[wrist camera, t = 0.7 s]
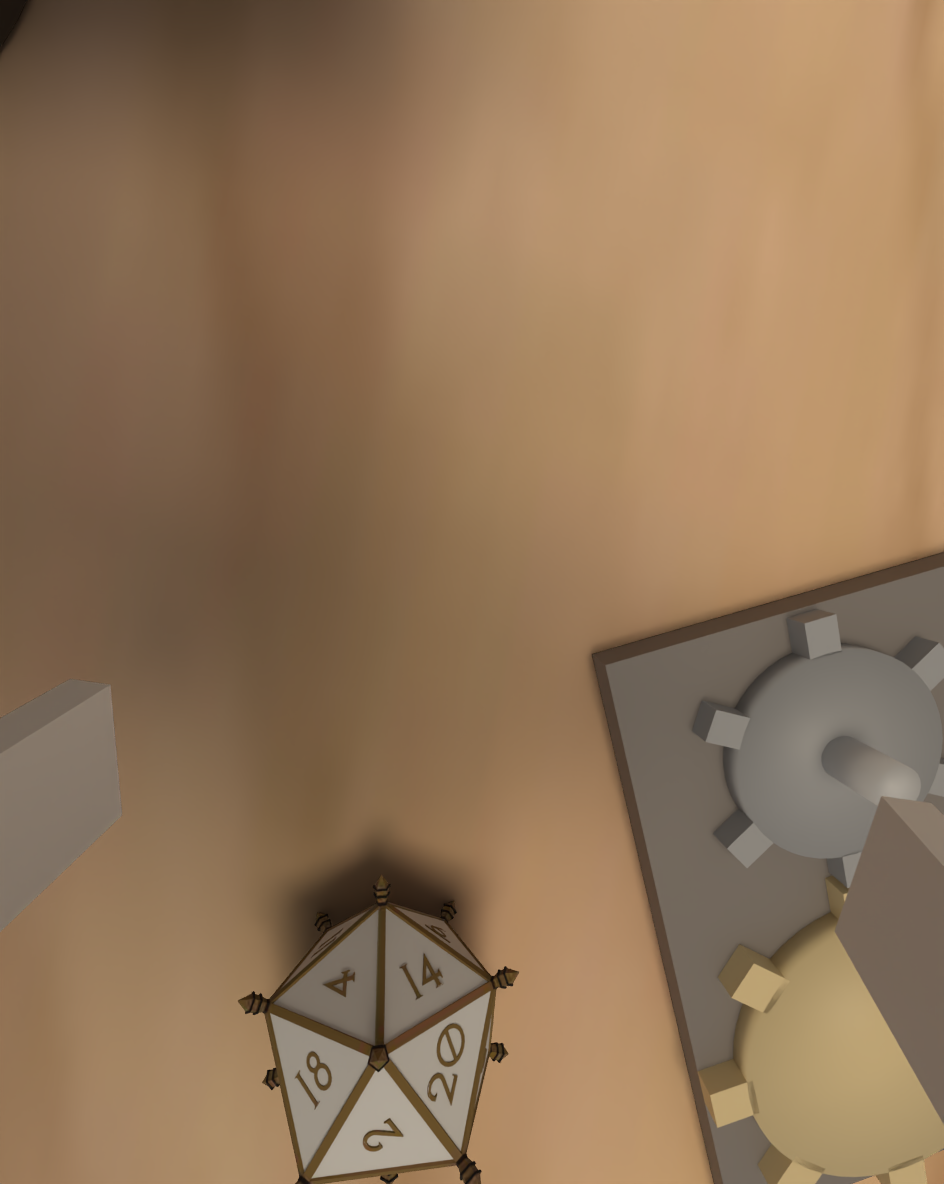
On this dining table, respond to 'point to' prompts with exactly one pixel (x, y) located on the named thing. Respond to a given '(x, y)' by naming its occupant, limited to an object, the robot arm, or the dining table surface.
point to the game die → (382, 1045)
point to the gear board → (783, 861)
